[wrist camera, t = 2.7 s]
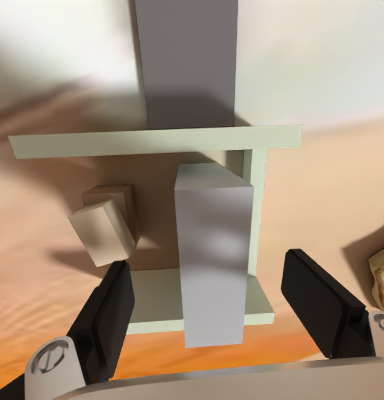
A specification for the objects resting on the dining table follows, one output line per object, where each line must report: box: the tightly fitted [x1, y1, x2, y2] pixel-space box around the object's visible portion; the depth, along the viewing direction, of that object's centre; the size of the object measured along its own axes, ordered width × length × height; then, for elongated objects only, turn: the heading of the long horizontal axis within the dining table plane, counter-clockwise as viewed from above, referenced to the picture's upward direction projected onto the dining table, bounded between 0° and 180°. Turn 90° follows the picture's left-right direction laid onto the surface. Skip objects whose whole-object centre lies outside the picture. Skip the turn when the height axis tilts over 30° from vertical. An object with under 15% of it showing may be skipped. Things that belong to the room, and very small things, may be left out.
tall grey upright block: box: [174, 162, 254, 348], centre depth 14 cm, size 10×4×9 cm, turn 2°
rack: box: [8, 125, 303, 334], centre depth 15 cm, size 15×16×6 cm
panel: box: [135, 0, 238, 130], centre depth 13 cm, size 13×7×1 cm, turn 2°
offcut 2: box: [68, 197, 135, 267], centre depth 14 cm, size 4×3×2 cm, turn 17°
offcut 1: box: [82, 184, 140, 253], centre depth 16 cm, size 6×3×3 cm, turn 2°
